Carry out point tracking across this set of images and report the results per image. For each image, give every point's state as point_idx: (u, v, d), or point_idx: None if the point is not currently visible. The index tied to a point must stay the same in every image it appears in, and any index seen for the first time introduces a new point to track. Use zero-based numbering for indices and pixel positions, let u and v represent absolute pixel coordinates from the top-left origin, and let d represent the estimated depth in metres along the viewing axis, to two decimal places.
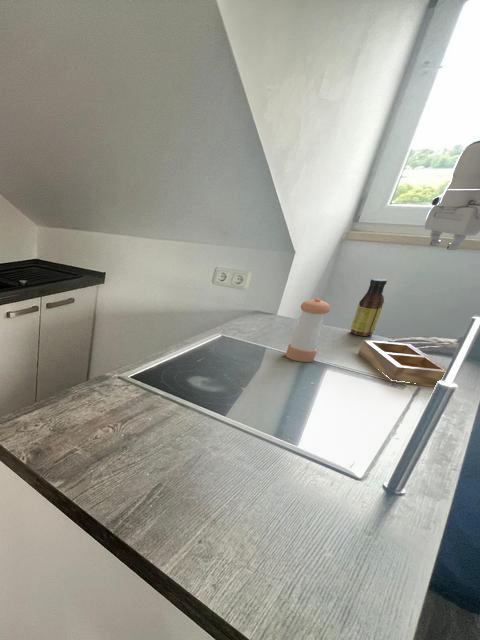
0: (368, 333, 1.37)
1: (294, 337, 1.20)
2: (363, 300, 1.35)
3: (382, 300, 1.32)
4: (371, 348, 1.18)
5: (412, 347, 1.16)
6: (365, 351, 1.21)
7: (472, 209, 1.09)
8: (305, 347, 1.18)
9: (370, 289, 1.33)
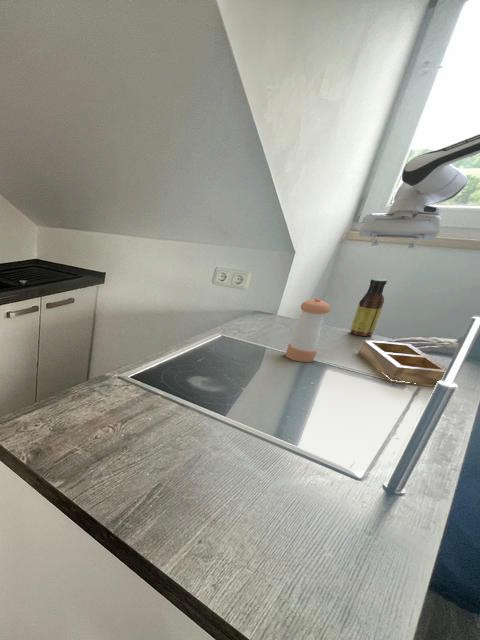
0: (368, 333, 1.37)
1: (294, 337, 1.20)
2: (363, 300, 1.35)
3: (382, 300, 1.32)
4: (371, 348, 1.18)
5: (412, 347, 1.16)
6: (365, 351, 1.21)
7: None
8: (305, 347, 1.18)
9: (370, 289, 1.33)
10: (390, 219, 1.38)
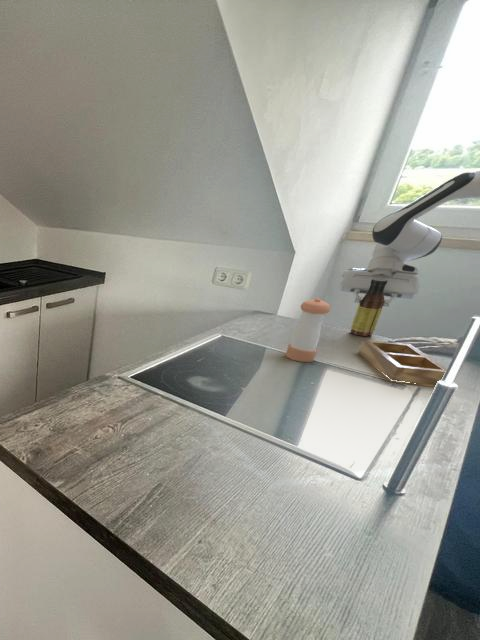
0: (368, 333, 1.37)
1: (294, 337, 1.20)
2: (363, 300, 1.35)
3: (382, 300, 1.32)
4: (371, 348, 1.18)
5: (412, 347, 1.16)
6: (365, 351, 1.21)
7: None
8: (305, 347, 1.18)
9: (371, 289, 1.33)
10: (369, 276, 1.37)
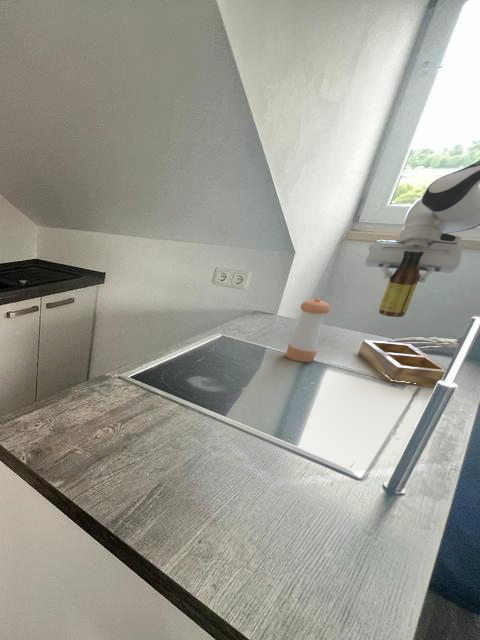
0: (400, 313, 1.19)
1: (294, 337, 1.20)
2: (395, 275, 1.17)
3: (418, 274, 1.15)
4: (371, 348, 1.18)
5: (412, 347, 1.16)
6: (365, 351, 1.21)
7: None
8: (305, 347, 1.18)
9: (404, 262, 1.16)
10: (401, 248, 1.20)
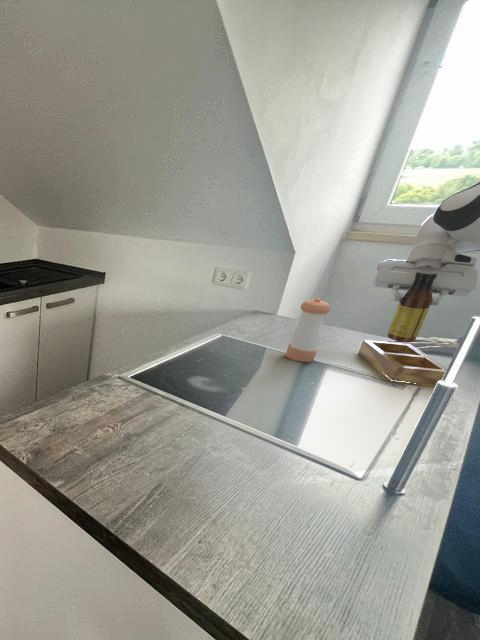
0: (410, 338, 1.11)
1: (294, 337, 1.20)
2: (406, 298, 1.09)
3: (430, 298, 1.07)
4: (371, 348, 1.18)
5: (412, 347, 1.16)
6: (365, 351, 1.21)
7: None
8: (305, 347, 1.18)
9: (415, 284, 1.08)
10: (412, 268, 1.12)
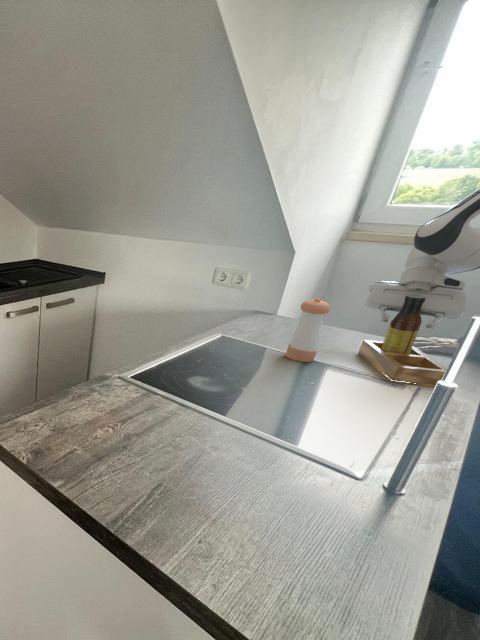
0: None
1: (294, 337, 1.20)
2: (396, 320, 1.12)
3: (419, 321, 1.09)
4: (371, 348, 1.18)
5: (412, 347, 1.16)
6: (365, 351, 1.21)
7: None
8: (305, 347, 1.18)
9: (405, 307, 1.11)
10: (403, 290, 1.15)
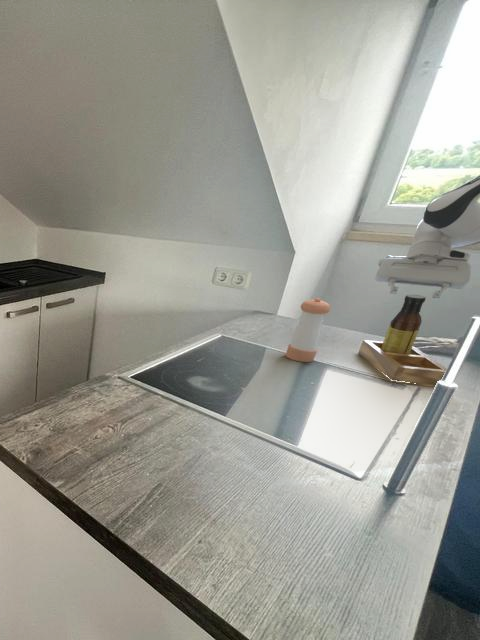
0: None
1: (294, 337, 1.20)
2: (396, 320, 1.12)
3: (419, 321, 1.09)
4: (371, 348, 1.18)
5: (412, 347, 1.16)
6: (365, 351, 1.21)
7: None
8: (305, 347, 1.18)
9: (405, 307, 1.11)
10: (410, 264, 1.22)
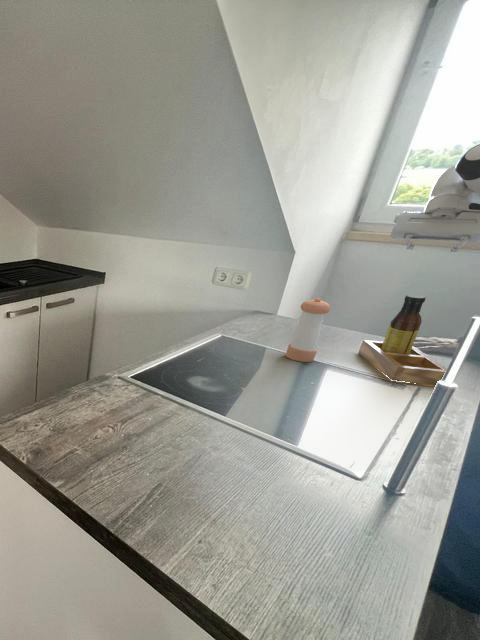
0: None
1: (294, 337, 1.20)
2: (396, 320, 1.12)
3: (419, 321, 1.09)
4: (371, 348, 1.18)
5: (412, 347, 1.16)
6: (365, 351, 1.21)
7: None
8: (305, 347, 1.18)
9: (405, 307, 1.11)
10: (428, 218, 1.19)
